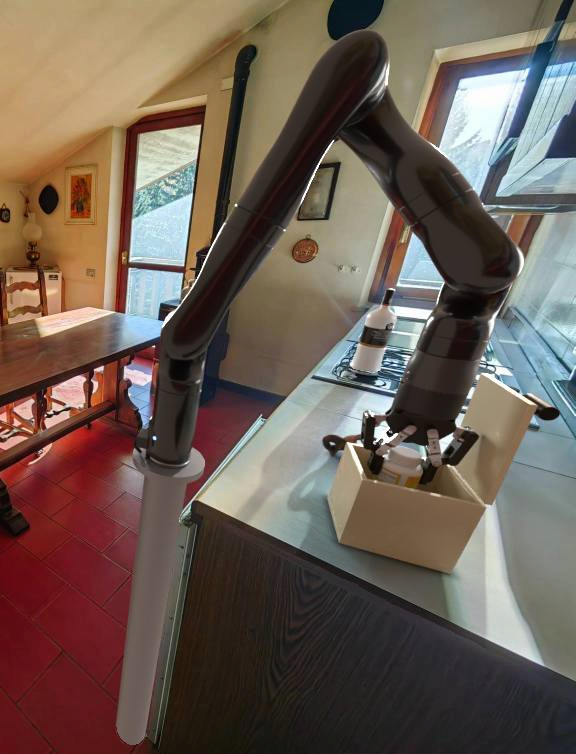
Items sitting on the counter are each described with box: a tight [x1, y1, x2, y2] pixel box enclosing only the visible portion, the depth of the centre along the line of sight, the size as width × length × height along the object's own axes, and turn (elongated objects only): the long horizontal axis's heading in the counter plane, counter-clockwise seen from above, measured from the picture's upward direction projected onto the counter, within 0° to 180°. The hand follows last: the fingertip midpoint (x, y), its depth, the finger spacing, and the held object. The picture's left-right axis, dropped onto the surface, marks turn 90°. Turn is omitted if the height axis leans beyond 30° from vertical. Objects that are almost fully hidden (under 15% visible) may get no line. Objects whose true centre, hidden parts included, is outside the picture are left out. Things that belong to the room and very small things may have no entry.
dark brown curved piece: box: [321, 433, 378, 458], centre depth 86 cm, size 12×10×8 cm
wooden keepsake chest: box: [327, 442, 487, 575], centre depth 65 cm, size 15×13×13 cm
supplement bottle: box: [372, 445, 423, 489], centre depth 64 cm, size 6×6×10 cm
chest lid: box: [453, 372, 561, 506], centre depth 56 cm, size 15×13×5 cm
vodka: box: [348, 288, 398, 377], centre depth 136 cm, size 9×9×30 cm
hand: (396, 476), depth 64 cm, fingers closed on supplement bottle, 5 cm apart
